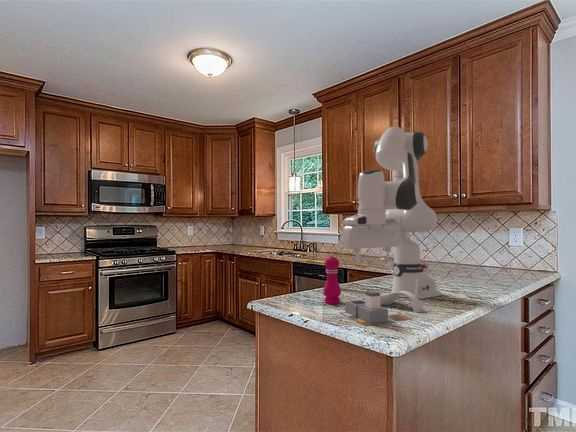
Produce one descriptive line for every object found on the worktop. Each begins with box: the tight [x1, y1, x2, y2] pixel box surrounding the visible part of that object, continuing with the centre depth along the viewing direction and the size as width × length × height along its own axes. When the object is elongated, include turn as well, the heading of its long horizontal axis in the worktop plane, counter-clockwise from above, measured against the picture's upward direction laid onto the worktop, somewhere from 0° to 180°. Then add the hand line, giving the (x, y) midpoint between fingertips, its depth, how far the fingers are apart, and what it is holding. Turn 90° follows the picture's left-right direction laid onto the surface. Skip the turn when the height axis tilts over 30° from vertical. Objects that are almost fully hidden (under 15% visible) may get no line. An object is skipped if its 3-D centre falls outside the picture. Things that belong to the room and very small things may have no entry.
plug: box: [364, 290, 381, 310], centre depth 114 cm, size 3×3×9 cm
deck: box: [388, 313, 413, 322], centre depth 118 cm, size 7×7×1 cm
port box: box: [339, 299, 396, 327], centre depth 118 cm, size 11×16×5 cm
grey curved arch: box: [364, 291, 424, 313], centre depth 135 cm, size 24×12×7 cm, turn 37°
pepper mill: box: [322, 252, 342, 305], centre depth 144 cm, size 7×7×20 cm
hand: (372, 261), depth 114 cm, fingers open, 8 cm apart
